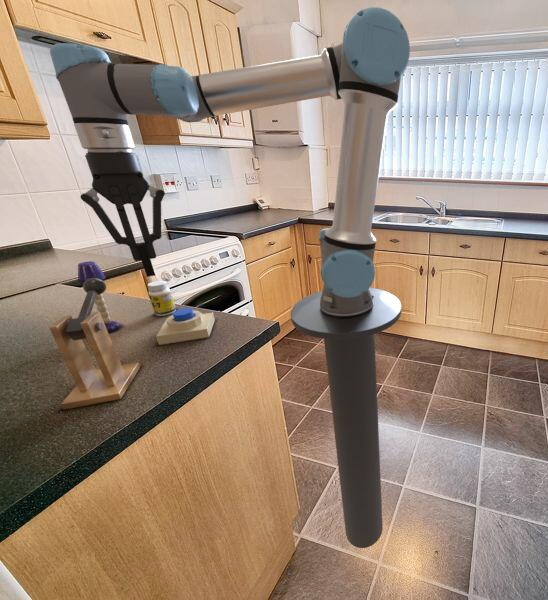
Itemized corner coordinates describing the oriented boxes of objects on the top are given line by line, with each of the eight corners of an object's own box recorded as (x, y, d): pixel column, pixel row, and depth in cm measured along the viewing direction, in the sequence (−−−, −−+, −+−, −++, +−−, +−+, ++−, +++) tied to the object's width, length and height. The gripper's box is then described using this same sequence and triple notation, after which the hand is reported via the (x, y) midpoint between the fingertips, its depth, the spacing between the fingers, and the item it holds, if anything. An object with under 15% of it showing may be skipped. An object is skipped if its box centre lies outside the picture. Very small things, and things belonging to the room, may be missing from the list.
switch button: (196, 313, 81) (194, 307, 80) (192, 320, 77) (190, 313, 76) (177, 316, 79) (175, 309, 79) (172, 323, 76) (170, 316, 75)
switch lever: (91, 287, 64) (81, 275, 62) (111, 285, 65) (102, 273, 63) (70, 342, 56) (59, 331, 54) (94, 339, 57) (83, 327, 55)
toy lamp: (115, 323, 84) (90, 259, 77) (128, 325, 83) (104, 260, 76) (94, 332, 80) (65, 265, 73) (107, 335, 78) (80, 267, 72)
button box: (214, 320, 85) (211, 306, 83) (209, 337, 77) (204, 321, 76) (169, 326, 82) (164, 312, 80) (158, 344, 74) (153, 329, 73)
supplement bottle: (151, 314, 88) (141, 284, 85) (168, 307, 92) (159, 278, 89) (163, 317, 87) (153, 287, 83) (180, 310, 91) (171, 281, 87)
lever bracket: (91, 375, 64) (61, 310, 59) (140, 367, 67) (116, 304, 61) (63, 410, 56) (25, 337, 50) (120, 399, 58) (90, 328, 52)
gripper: (59, 151, 54) (111, 286, 64) (156, 151, 62) (189, 272, 71) (64, 151, 60) (110, 276, 69) (152, 151, 67) (183, 264, 77)
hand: (150, 274), depth 70 cm, fingers closed
